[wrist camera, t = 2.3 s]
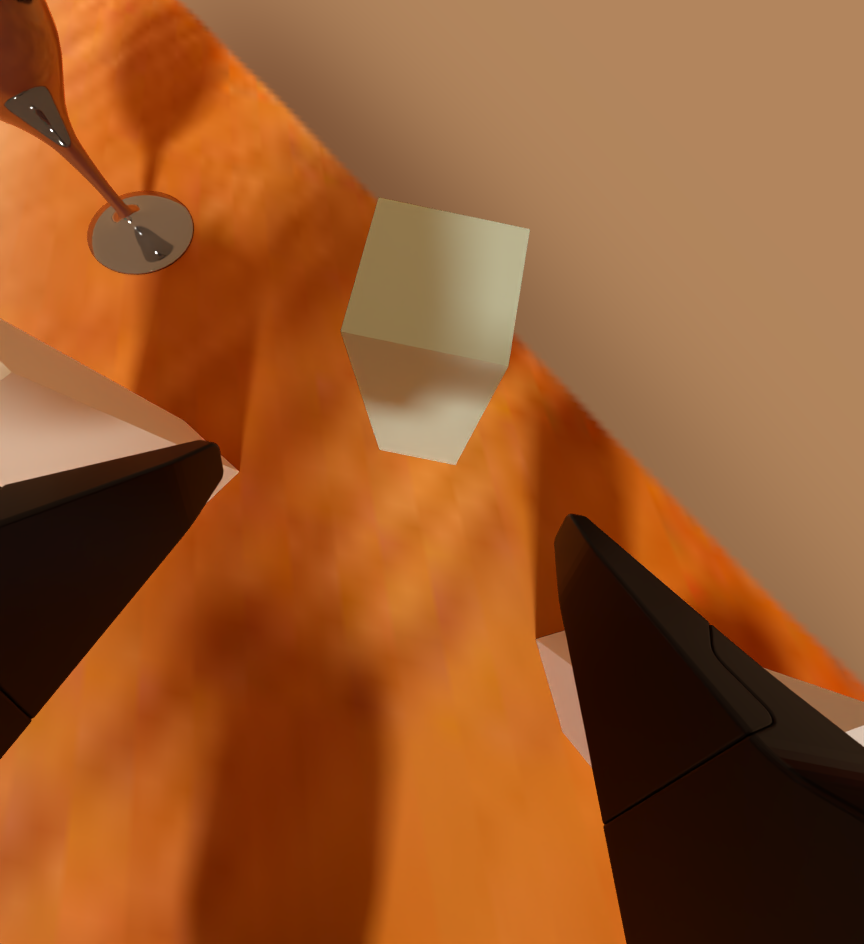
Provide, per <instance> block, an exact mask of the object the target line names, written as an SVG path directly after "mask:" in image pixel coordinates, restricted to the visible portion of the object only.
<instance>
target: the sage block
mask: <svg viewBox="0 0 864 944" xmlns="http://www.w3.org/2000/svg"><path fill="white" fill-rule="evenodd" d="M529 231H530V229H526V228H522V227H517V226H512V225H507V224H503V223H498V222H493V221H488V220H484V219H479V218H475V217H470V216H465V215H460V214H455V213H451V212H446V211H442V210H437V209H432V208H428V207H423V206H418V205H413V204H409V203H403V202H399V201H395V200H390V199H385V198H380V197H379V198H378V201H377V205H376V208H375V212H374V216H373V219H372V223H371V226H370V230H369V233H368V237H367V240H366V244H365V247H364V251H363V254H362V258H361V261H360V265H359V268H358V272H357V275H356V279H355V282H354V286H353V289H352V293H351V296H350V300H349V304H348V307H347V311H346V314H345V318H344V321H343V325H342V328H341V334H342V337H343V340H344V344H345V347H346V350H347V353H348V356H349V359H350V362H351V365H352V368H353V371H354V374H355V377H356V380H357V383H358V386H359V389H360V392H361V395H362V398H363V401H364V404H365V407H366V410H367V413H368V416H369V419H370V422H371V425H372V428H373V431H374V434H375V438H376V441H377V444H378V447H379V450H383V451H388V452H393V453H398V454H403V455H408V456H413V457H418V458H423V459H428V460H433V461H438V462H443V463H448V464H453V465H456V463H457V461H458V459H459V457H460V455H461V454H462V452H463V450H464V448H465V446H466V444H467V442H468V441H469V439H470V437H471V435H472V433H473V431H474V429H475V427H476V426H477V424H478V422H479V420H480V418H481V416H482V414H483V413H484V411H485V409H486V407H487V405H488V403H489V401H490V399H491V398H492V396H493V394H494V392H495V390H496V388H497V386H498V384H499V383H500V381H501V379H502V377H503V375H504V373H505V371H506V370H507V368H508V365H509V359H510V352H511V346H512V340H513V333H514V327H515V321H516V314H517V308H518V301H519V295H520V288H521V282H522V276H523V269H524V263H525V257H526V250H527V244H528V238H529Z"/></svg>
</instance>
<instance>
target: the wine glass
mask: <svg viewBox="0 0 864 944" xmlns="http://www.w3.org/2000/svg"><path fill="white" fill-rule="evenodd" d="M0 121H3V122H6V123H8V124H11V125H13V126H16V127H18V128H20V129H22V130H24V131H26V132H28V133H30V134H32V135H34V136H35V137H37V138H38V139H40V140H42V141H43V142H45V143H46V144H48V145H49V146H51V147H52V148H53V149H54V150H56V151H57V152H58V153H59V154H60V155H61V156H63V157H64V158H65V159H66V160H67V161H68V162H69V163H70V164H71V165H72V166H73V167H74V168H75V169H76V170H78V171H79V172H80V173H81V174H82V175H83V176H84V177H85V178H86V179H87V180H88V181H89V182H90V183H91V184H92V185H93V186H94V187H95V188H96V189H97V190H98V192H99V193H100V194H101V195H102V196H103V197H104V198H105V199H106V200H107V202H108V203H106V204H105V205H104V206H102V207H101V208H100V209H99V210H98V211H97V213H96V214H95V215H94V217H93V218H92V220H91V222H90V224H89V228H88V232H87V241H88V245H89V248H90V250H91V252H92V254H93V256H94V257H95V258H96V259H97V261H99V262H100V263H101V264H102V265H103V266H105V267H107V268H109V269H111V270H113V271H116V272H119V273H124V274H147V273H151V272H155V271H158V270H160V269H163V268H165V267H167V266H169V265H170V264H172V263H174V262H175V261H176V260H177V259H179V258H180V257H181V256H182V255H183V253H184V252H185V251H186V250H187V248H188V246H189V245H190V243H191V240H192V237H193V231H194V228H193V221H192V217H191V215H190V213H189V211H188V210H187V209H186V207H185V206H184V205H183V204H182V203H180V202H179V201H178V200H176V199H175V198H173V197H171V196H169V195H166V194H163V193H160V192H154V191H137V192H131V193H127V194H124V195H121V196H118V195H117V194H116V192H115V191H114V190H113V189H112V187H111V186H110V185H109V184H108V182H107V181H106V180H105V178H104V177H103V176H102V174H101V173H100V172H99V170H98V169H97V167H96V166H95V164H94V163H93V162H92V160H91V159H90V157H89V156H88V154H87V153H86V151H85V150H84V148H83V147H82V145H81V144H80V142H79V140H78V139H77V137H76V135H75V133H74V130H73V128H72V125H71V122H70V120H69V117H68V113H67V108H66V104H65V91H64V77H63V63H62V52H61V47H60V41H59V36H58V32H57V28H56V24H55V22H54V19H53V17H52V14H51V12H50V10H49V7H48V5H47V2H46V0H0Z"/></svg>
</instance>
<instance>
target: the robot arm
mask: <svg viewBox="0 0 864 944" xmlns="http://www.w3.org/2000/svg"><path fill="white" fill-rule="evenodd" d="M223 472H224V471H223V464H222V459H221V454H220V449H219V446H218V445H217V444H216V443H214V442H209V441H204V440H195V441H191V442H187V443H183V444H178V445H174V446H170V447H165V448H161V449H157V450H152V451H148V452H144V453H139V454H135V455H131V456H127V457H122V458H118V459H114V460H109V461H105V462H101V463H96V464H92V465H88V466H83V467H79V468H75V469H71V470H66V471H62V472H58V473H53V474H49V475H45V476H40V477H36V478H32V479H27V480H23V481H19V482H15V483H10V484H6V485H4V486H3V487H1V486H0V759H1V758H2V756H3V755H4V754H5V753H6V752H7V750H8V749H9V748H10V747H11V746H12V744H13V743H14V742H15V741H16V739H17V738H18V737H19V736H20V735H21V733H22V732H23V731H24V730H25V729H26V727H27V726H28V725H29V724H30V722H31V721H32V720H31V719H32V718H34V717H35V716H36V715H37V713H38V712H39V711H40V710H41V709H42V707H43V706H44V705H45V704H46V703H47V701H48V700H49V699H50V698H51V696H52V695H53V694H54V693H55V692H56V690H57V689H58V688H59V687H60V685H61V684H62V683H63V682H64V681H65V679H66V678H67V677H68V676H69V675H70V673H71V672H72V671H73V670H74V668H75V667H76V666H77V665H78V664H79V662H80V661H81V660H82V659H83V657H84V656H85V655H86V654H87V653H88V651H89V650H90V649H91V648H92V647H93V645H94V644H95V643H96V642H97V640H98V639H99V638H100V637H101V636H102V634H103V633H104V632H105V631H106V629H107V628H108V627H109V626H110V625H111V623H112V622H113V621H114V620H115V619H116V617H117V616H118V615H119V614H120V612H121V611H122V610H123V609H124V608H125V606H126V605H127V604H128V603H129V601H130V600H131V599H132V598H133V597H134V595H135V594H136V593H137V592H138V591H139V589H140V588H141V587H142V586H143V584H144V583H145V582H146V581H147V580H148V578H149V577H150V576H151V575H152V573H153V572H154V571H155V570H156V569H157V567H158V566H159V565H160V564H161V563H162V561H163V560H164V559H165V558H166V556H167V555H168V554H169V553H170V552H171V550H172V549H173V548H174V547H175V545H176V544H177V543H178V542H179V541H180V539H181V538H182V537H183V536H184V534H185V533H186V532H187V531H188V529H189V528H190V527H191V525H192V524H193V522H194V521H195V520H196V518H197V517H198V515H199V514H200V512H201V510H202V509H203V507H204V506H205V504H206V503H207V501H208V500H209V498H210V497H211V495H212V494H213V492H214V491H215V489H216V488H217V486H218V484H219V483H220V481H221V480H222V477H223ZM554 548H555V561H556V573H557V586H558V596H559V603H560V609H561V614H562V619H563V624H564V629H565V634H566V639H567V644H568V649H569V654H570V659H571V664H572V669H573V674H574V679H575V684H576V689H577V695H578V700H579V705H580V710H581V715H582V720H583V725H584V730H585V735H586V740H587V745H588V750H589V755H590V760H591V765H592V770H593V775H594V780H595V785H596V790H597V796H598V801H599V806H600V811H601V816H602V821H603V823H604V824H605V825H604V832H605V837H606V842H607V847H608V853H609V858H610V863H611V868H612V873H613V878H614V883H615V888H616V893H617V898H618V903H619V908H620V913H621V918H622V923H623V928H624V933H625V938H626V943H627V944H864V746H862V745H861V744H860V743H858V742H857V741H856V740H855V739H853V738H852V737H851V736H849V735H848V734H847V733H846V732H844V731H843V730H842V729H840V728H839V727H838V726H837V725H835V724H834V723H833V722H832V721H830V720H829V719H828V718H826V717H825V716H824V715H823V714H821V713H820V712H819V711H817V710H816V709H815V708H814V707H812V706H811V705H810V704H808V703H807V702H806V701H805V700H803V699H802V698H801V697H800V696H798V695H797V694H796V693H794V692H793V691H792V690H791V689H789V688H788V687H787V686H786V685H784V684H783V683H782V682H781V681H779V680H778V679H777V678H775V677H774V676H773V675H772V674H770V673H769V672H768V671H767V670H765V669H764V668H763V667H762V666H760V665H759V664H758V663H757V662H755V661H754V660H753V659H752V658H751V657H749V656H748V655H747V654H746V653H745V652H743V651H742V650H741V649H740V648H739V647H737V646H736V645H735V644H734V643H733V642H731V641H730V640H729V639H728V638H727V637H726V636H724V635H723V634H722V633H721V632H720V631H719V630H718V629H716V628H715V627H714V626H713V625H709V622H708V621H707V620H706V619H705V618H703V617H702V616H701V615H700V614H699V613H698V612H696V611H695V610H694V609H693V608H692V607H691V606H689V605H688V604H687V603H686V602H685V601H684V600H682V599H681V598H680V597H679V596H678V595H677V594H675V593H674V592H673V591H672V590H671V589H670V588H668V587H667V586H666V585H665V584H664V583H663V582H661V581H660V580H659V579H658V578H657V577H655V576H654V575H653V574H652V573H651V572H650V571H648V570H647V569H646V568H645V567H644V566H643V565H641V564H640V563H639V562H638V561H637V560H636V559H634V558H633V557H632V556H631V555H630V554H629V553H627V552H626V551H625V550H624V549H623V548H622V547H620V546H619V545H618V544H617V543H616V542H615V541H613V540H612V539H611V538H610V537H609V536H608V535H606V534H605V533H604V532H603V531H602V530H601V529H599V528H598V527H597V526H596V525H595V524H594V523H592V522H591V521H590V520H589V519H588V518H587V517H585V516H581V515H576V514H568V515H567V516H566V518H565V519H564V521H563V523H562V525H561V527H560V529H559V531H558V533H557V535H556V538H555V542H554Z"/></svg>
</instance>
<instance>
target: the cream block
mask: <svg viewBox="0 0 864 944" xmlns="http://www.w3.org/2000/svg"><path fill="white" fill-rule="evenodd" d="M195 440H204V439H203V438H202V437H201V436H200V435H199V434H198V433H197V432H196V431H195V430H194V429H193V428H191V427H190V426H189V425H188V424H187V423H186V422H185V421H184V420H182V419H180V418H178V417H177V416H175V415H173V414H171V413H169V412H168V411H166V410H164V409H162V408H160V407H159V406H157V405H155V404H153V403H151V402H150V401H148V400H146V399H144V398H142V397H141V396H139V395H137V394H135V393H133V392H132V391H130V390H128V389H126V388H124V387H123V386H121V385H119V384H117V383H115V382H114V381H112V380H110V379H108V378H107V377H105V376H103V375H101V374H99V373H98V372H96V371H94V370H92V369H90V368H89V367H87V366H85V365H83V364H81V363H80V362H78V361H76V360H74V359H72V358H71V357H69V356H67V355H65V354H63V353H62V352H60V351H58V350H56V349H54V348H53V347H51V346H49V345H47V344H45V343H44V342H42V341H40V340H38V339H36V338H35V337H33V336H31V335H29V334H27V333H26V332H24V331H22V330H20V329H18V328H17V327H15V326H13V325H11V324H9V323H8V322H6V321H4V320H2V319H0V486H1V487H3V486H4V485H6V484H10V483H15V482H19V481H23V480H27V479H32V478H36V477H40V476H45V475H49V474H53V473H58V472H62V471H66V470H71V469H75V468H79V467H83V466H88V465H92V464H96V463H101V462H105V461H109V460H114V459H118V458H122V457H127V456H131V455H135V454H139V453H144V452H148V451H152V450H157V449H161V448H165V447H170V446H174V445H178V444H183V443H187V442H191V441H195ZM204 441H206V440H204ZM221 459H222V464H223V471H224V472H223V477H222V480H221V481H220V483H219V484H218V486H217V488H216V489H215V491H214V492H213V494H212V495H211V497H210V498H209V500H210V499H211V498H212V497H214V496H215V495H216V494H217V493H218V492H219V491H220V490H221V489H222V488H223V487H224V486H225V485H226V484H227V483H228V482H229V481H230V480H231V479H232V478H233V477H234V476H235V475H237V474H238V473H239V471H238V470H237V469H236V468H235V467H234V466H233V465H231V464H230V463H229V462H228V461H227V460H226V459H225V458H224V457H223V456H222V455H221ZM209 500H208V501H209ZM208 501H207V502H208Z"/></svg>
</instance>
